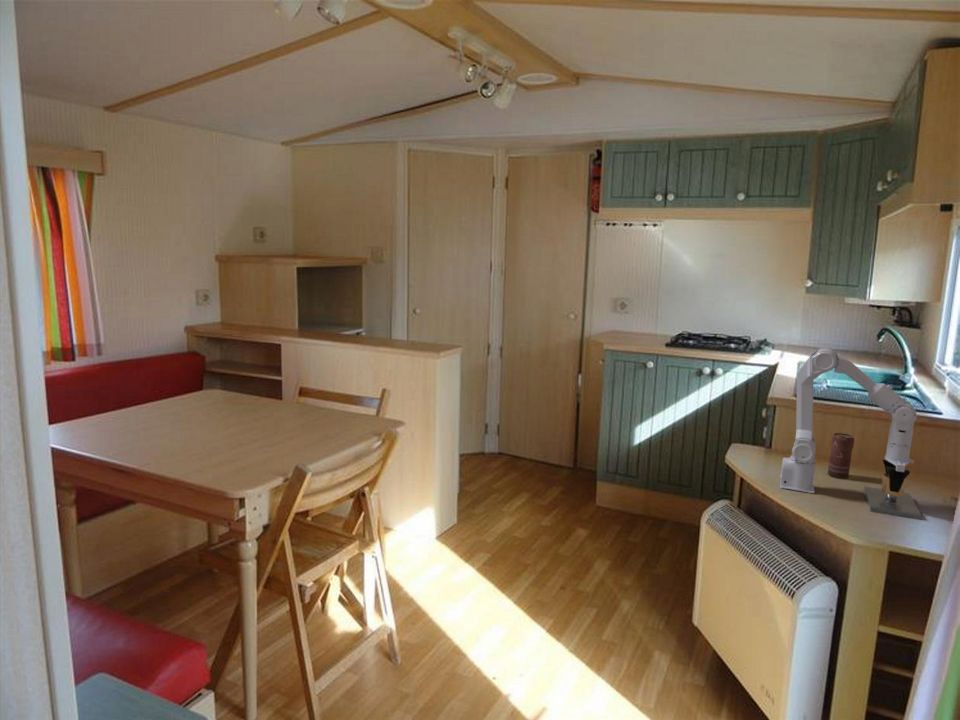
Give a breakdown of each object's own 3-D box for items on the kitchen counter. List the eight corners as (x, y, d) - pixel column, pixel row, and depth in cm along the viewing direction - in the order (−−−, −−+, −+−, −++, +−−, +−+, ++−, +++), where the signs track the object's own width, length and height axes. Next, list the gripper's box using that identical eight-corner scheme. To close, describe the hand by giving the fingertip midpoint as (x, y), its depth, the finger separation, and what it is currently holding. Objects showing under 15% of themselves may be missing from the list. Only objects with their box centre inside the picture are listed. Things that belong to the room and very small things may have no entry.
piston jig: (870, 511, 185) (873, 491, 184) (863, 491, 201) (865, 472, 200) (920, 519, 180) (923, 499, 179) (908, 498, 196) (911, 479, 195)
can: (849, 480, 210) (854, 439, 208) (827, 476, 213) (832, 435, 211) (849, 475, 215) (855, 434, 213) (827, 471, 218) (833, 431, 216)
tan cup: (882, 494, 189) (884, 477, 188) (879, 488, 194) (882, 472, 193) (904, 497, 186) (907, 481, 186) (901, 491, 191) (903, 475, 190)
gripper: (920, 452, 179) (913, 498, 182) (911, 439, 192) (904, 482, 195) (890, 448, 182) (883, 494, 184) (883, 435, 195) (877, 478, 197)
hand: (892, 488), depth 190 cm, fingers closed on tan cup, 5 cm apart
